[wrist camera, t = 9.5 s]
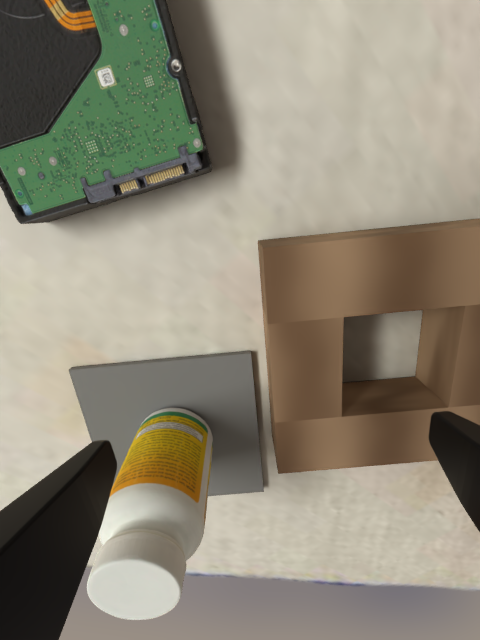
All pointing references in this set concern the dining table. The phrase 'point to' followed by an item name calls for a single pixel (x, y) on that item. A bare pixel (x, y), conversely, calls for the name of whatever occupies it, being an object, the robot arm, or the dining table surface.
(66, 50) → the disk drive
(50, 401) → the dining table surface
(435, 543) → the dining table surface
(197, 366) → the rubber mat
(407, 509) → the dining table surface
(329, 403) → the socket block
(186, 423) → the supplement bottle
